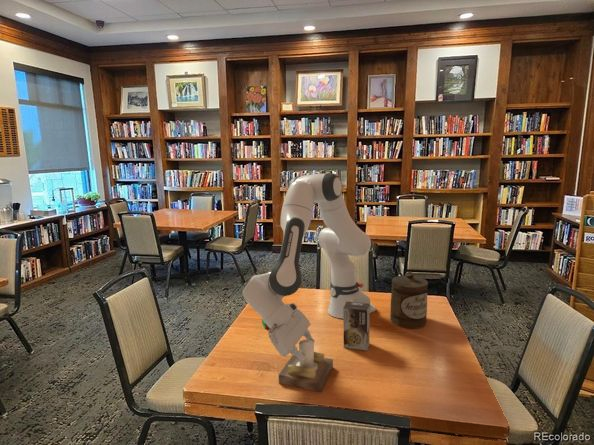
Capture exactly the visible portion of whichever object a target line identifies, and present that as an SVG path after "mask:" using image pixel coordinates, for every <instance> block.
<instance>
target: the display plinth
mask: <svg viewBox="0 0 594 445" xmlns="http://www.w3.org/2000/svg"><path fill="white" fill-rule="evenodd" d="M297 350H298V351H299V349H297ZM333 368H334V359H332V358H328V357H327V358H326V357H325V353H323V352H317V351H314V367H313V368H312V369H311V368H306V367H301V366H299V358H298V357H296V356H294V355H292V354H291V356H290V358H289V359H288V361H287V363H286V364H285V365H284V367H283V368H282V369H281V371H280V372H279V374H278V384H281V385H286V386H289V385H290V387H295V388H299V387H300V389H303V388H304V389H303V390H310V391H313V392H318V393H322V391H323V389H324V387H325V385H326V383H327V380H328V379H329V376H330V375H331V372H332V370H333Z"/></svg>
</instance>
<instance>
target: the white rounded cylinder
mask: <svg viewBox="0 0 594 445" xmlns="http://www.w3.org/2000/svg"><path fill="white" fill-rule="evenodd" d="M298 350H299V351H300V352H303V353H304V354H305V357H304V359H303V360H300V359H299V366H301V367H306V368H311V369H312V368H313V367H314V352H315V341H314V342H313V341H311V340H307V339H301V340H299V341H298Z"/></svg>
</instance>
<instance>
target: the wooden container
mask: <svg viewBox="0 0 594 445" xmlns="http://www.w3.org/2000/svg"><path fill="white" fill-rule="evenodd" d="M414 275H415V274H414V272H412V271H407V272H406V273H405V275H398V276H395V277H393V278H392V279H391V293H390V294H391V295H390V317H389V318H390V322H392V323H393V324H394V325H396V326H398V327H400V328H406V329H419V328H422V327H424V326H426V324H427V316H428V315H427V314H428V287H429V284H428V280H427V279H424V278H423V277H419V276H414Z"/></svg>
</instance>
